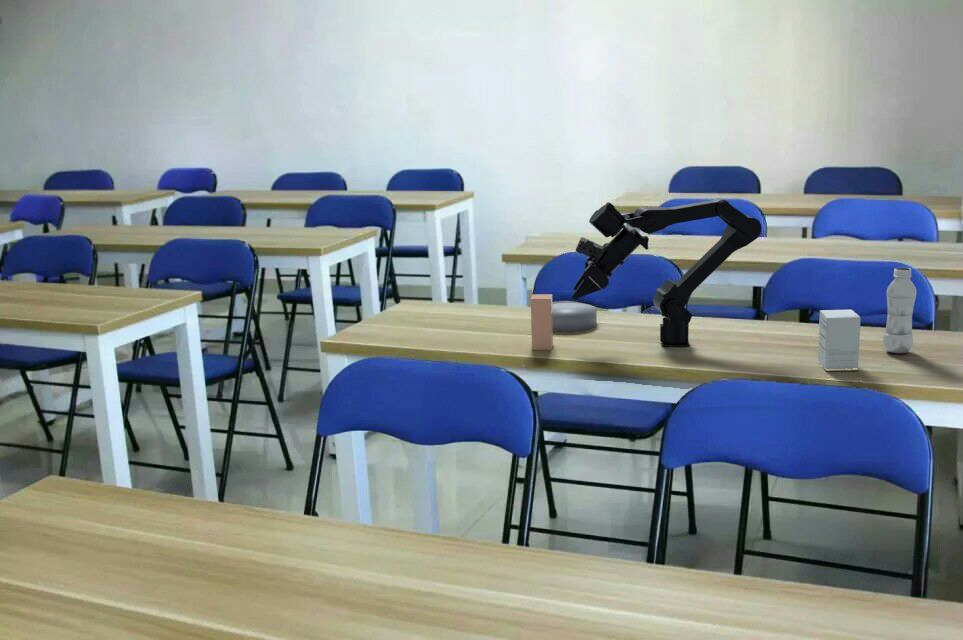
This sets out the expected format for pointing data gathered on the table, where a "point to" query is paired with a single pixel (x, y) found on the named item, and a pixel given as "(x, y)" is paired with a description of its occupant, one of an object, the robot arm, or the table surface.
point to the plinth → (573, 316)
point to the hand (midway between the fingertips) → (574, 294)
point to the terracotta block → (542, 321)
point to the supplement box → (839, 339)
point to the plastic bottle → (900, 312)
